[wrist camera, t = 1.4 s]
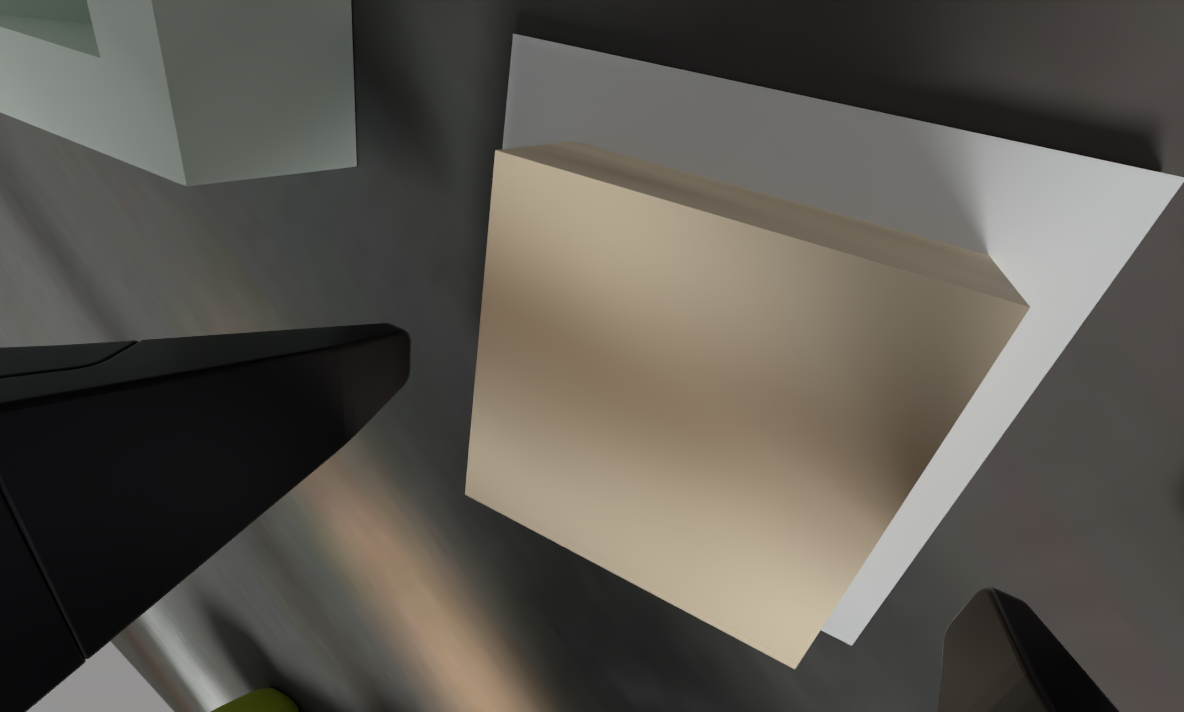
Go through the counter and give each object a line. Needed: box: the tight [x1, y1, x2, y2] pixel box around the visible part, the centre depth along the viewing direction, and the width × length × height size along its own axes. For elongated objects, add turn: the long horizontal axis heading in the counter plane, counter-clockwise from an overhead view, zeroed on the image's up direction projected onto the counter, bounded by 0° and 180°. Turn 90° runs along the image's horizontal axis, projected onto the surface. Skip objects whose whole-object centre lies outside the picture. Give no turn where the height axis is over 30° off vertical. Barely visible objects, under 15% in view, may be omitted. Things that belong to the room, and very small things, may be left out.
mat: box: [502, 34, 1184, 646], centre depth 11 cm, size 10×10×1 cm
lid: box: [465, 141, 1030, 669], centre depth 10 cm, size 7×7×2 cm
